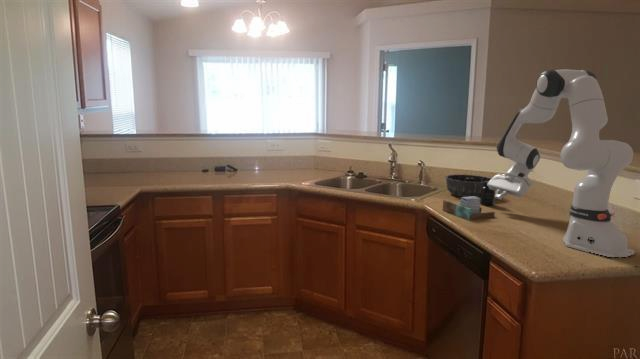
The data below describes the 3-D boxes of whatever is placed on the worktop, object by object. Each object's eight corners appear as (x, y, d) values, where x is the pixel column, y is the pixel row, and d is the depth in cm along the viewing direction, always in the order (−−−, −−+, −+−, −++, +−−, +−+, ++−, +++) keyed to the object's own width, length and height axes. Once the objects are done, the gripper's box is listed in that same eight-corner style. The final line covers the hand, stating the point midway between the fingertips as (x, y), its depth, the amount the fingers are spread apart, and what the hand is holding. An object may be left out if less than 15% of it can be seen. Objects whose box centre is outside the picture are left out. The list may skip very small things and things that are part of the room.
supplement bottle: (496, 204, 220) (498, 181, 217) (490, 206, 215) (493, 183, 213) (483, 202, 224) (485, 180, 222) (477, 204, 219) (479, 181, 217)
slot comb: (494, 216, 196) (495, 206, 195) (468, 220, 190) (469, 209, 189) (467, 207, 212) (468, 198, 211) (442, 210, 206) (443, 200, 205)
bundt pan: (457, 188, 260) (458, 172, 259) (500, 195, 242) (502, 178, 241) (435, 194, 242) (437, 177, 240) (481, 202, 224) (482, 184, 222)
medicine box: (472, 213, 201) (473, 195, 199) (479, 216, 197) (480, 197, 195) (459, 215, 198) (460, 197, 196) (465, 217, 194) (467, 199, 192)
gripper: (494, 169, 211) (478, 189, 209) (529, 176, 193) (511, 198, 191) (500, 177, 214) (484, 197, 212) (535, 185, 195) (517, 207, 193)
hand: (497, 198), depth 201 cm, fingers closed
